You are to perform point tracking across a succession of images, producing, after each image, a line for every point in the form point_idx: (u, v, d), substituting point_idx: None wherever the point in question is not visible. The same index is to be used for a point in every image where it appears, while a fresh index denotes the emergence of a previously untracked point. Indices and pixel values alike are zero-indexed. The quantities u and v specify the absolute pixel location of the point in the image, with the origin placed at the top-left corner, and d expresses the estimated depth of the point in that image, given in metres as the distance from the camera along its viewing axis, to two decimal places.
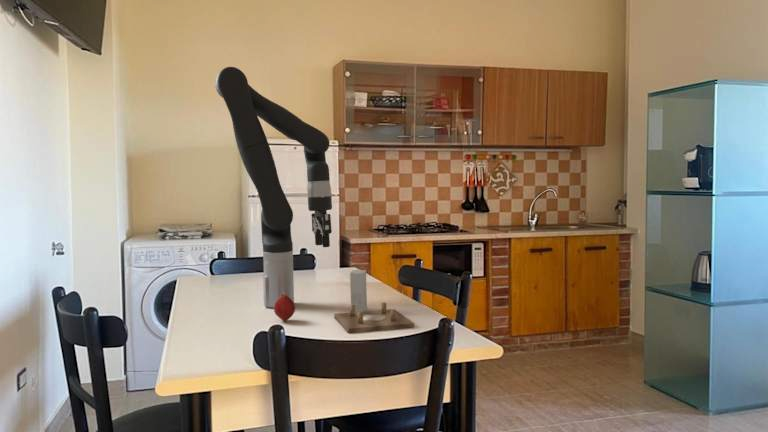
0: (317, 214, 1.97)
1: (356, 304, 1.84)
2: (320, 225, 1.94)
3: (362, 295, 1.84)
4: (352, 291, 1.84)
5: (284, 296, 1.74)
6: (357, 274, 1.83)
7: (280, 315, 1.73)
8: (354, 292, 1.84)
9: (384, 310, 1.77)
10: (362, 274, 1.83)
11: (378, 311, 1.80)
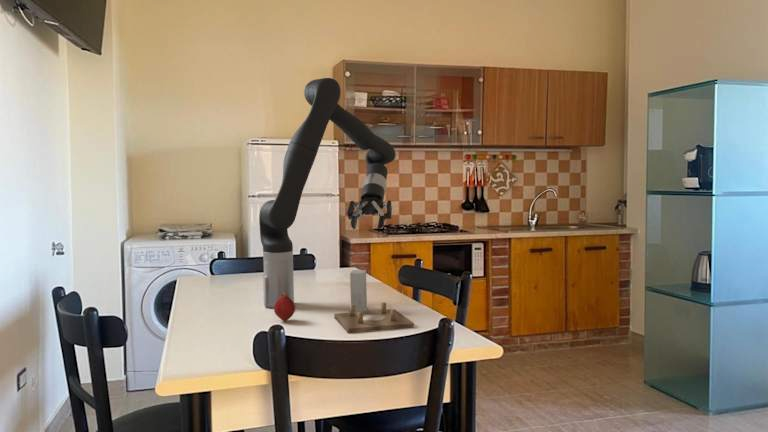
0: (371, 201, 2.02)
1: (356, 304, 1.84)
2: (380, 208, 1.99)
3: (362, 295, 1.84)
4: (352, 291, 1.84)
5: (284, 296, 1.74)
6: (357, 274, 1.83)
7: (280, 315, 1.73)
8: (354, 292, 1.84)
9: (384, 310, 1.77)
10: (362, 274, 1.83)
11: (378, 311, 1.80)
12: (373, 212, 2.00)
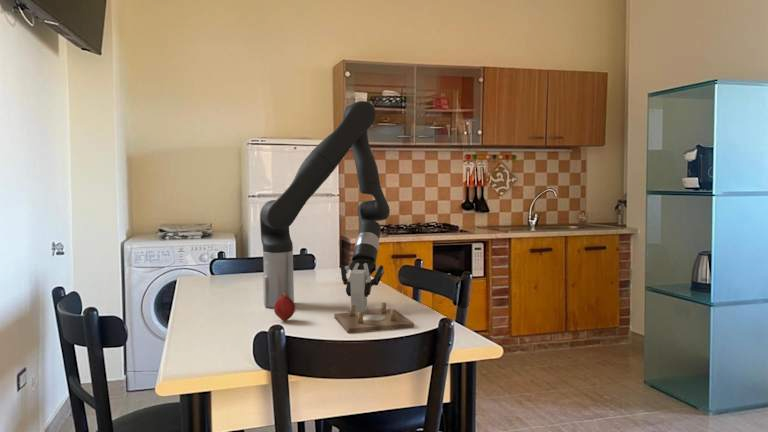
0: (363, 263, 1.91)
1: (356, 303, 1.84)
2: (369, 273, 1.88)
3: (362, 295, 1.84)
4: (352, 291, 1.84)
5: (284, 296, 1.74)
6: (357, 274, 1.83)
7: (280, 315, 1.73)
8: (354, 292, 1.84)
9: (384, 310, 1.77)
10: (362, 274, 1.83)
11: (378, 311, 1.80)
12: None
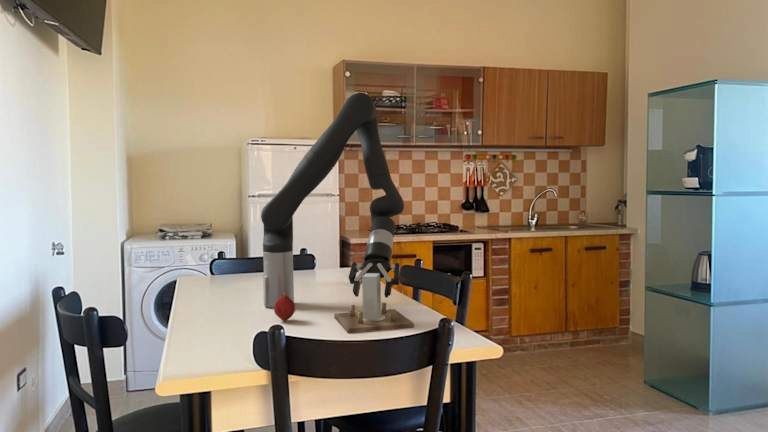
0: (376, 263, 1.76)
1: (368, 310, 1.69)
2: (386, 272, 1.73)
3: (375, 301, 1.68)
4: (364, 296, 1.69)
5: (284, 296, 1.74)
6: (370, 278, 1.68)
7: (280, 315, 1.73)
8: (367, 297, 1.69)
9: (384, 310, 1.77)
10: (375, 278, 1.68)
11: None
12: None
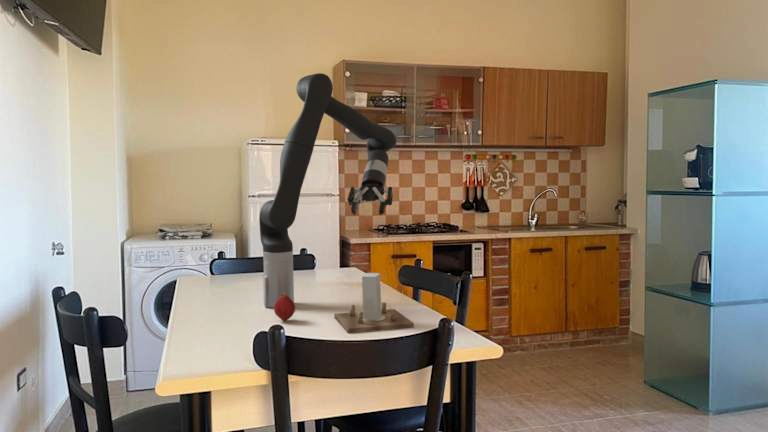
0: (372, 187, 2.01)
1: (368, 310, 1.69)
2: (380, 194, 1.98)
3: (375, 301, 1.68)
4: (364, 296, 1.69)
5: (284, 296, 1.74)
6: (369, 278, 1.68)
7: (280, 315, 1.73)
8: (367, 297, 1.69)
9: (384, 310, 1.77)
10: (375, 278, 1.68)
11: None
12: (374, 198, 1.99)
